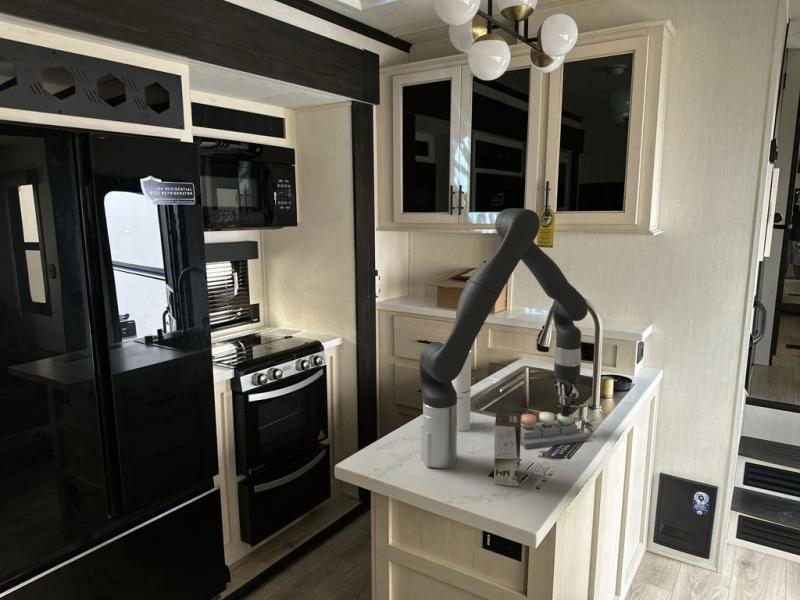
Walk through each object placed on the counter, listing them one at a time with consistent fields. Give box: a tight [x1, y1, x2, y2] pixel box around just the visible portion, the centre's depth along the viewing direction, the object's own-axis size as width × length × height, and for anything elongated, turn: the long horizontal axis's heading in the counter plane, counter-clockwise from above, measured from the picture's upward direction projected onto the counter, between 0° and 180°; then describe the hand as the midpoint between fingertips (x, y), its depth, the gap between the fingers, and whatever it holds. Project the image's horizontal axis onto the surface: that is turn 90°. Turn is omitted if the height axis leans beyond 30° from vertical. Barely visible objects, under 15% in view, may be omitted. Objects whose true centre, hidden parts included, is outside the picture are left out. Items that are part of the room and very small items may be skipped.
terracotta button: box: [520, 413, 537, 429], centre depth 164 cm, size 4×4×4 cm
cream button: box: [538, 411, 556, 427], centre depth 165 cm, size 4×4×4 cm
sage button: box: [556, 412, 573, 426], centre depth 167 cm, size 4×4×4 cm
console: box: [520, 419, 588, 450], centre depth 166 cm, size 20×12×3 cm, turn 104°
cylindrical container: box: [452, 349, 472, 432], centre depth 172 cm, size 7×7×25 cm
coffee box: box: [493, 412, 522, 487], centre depth 142 cm, size 9×6×16 cm
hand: (565, 415), depth 167 cm, fingers closed
